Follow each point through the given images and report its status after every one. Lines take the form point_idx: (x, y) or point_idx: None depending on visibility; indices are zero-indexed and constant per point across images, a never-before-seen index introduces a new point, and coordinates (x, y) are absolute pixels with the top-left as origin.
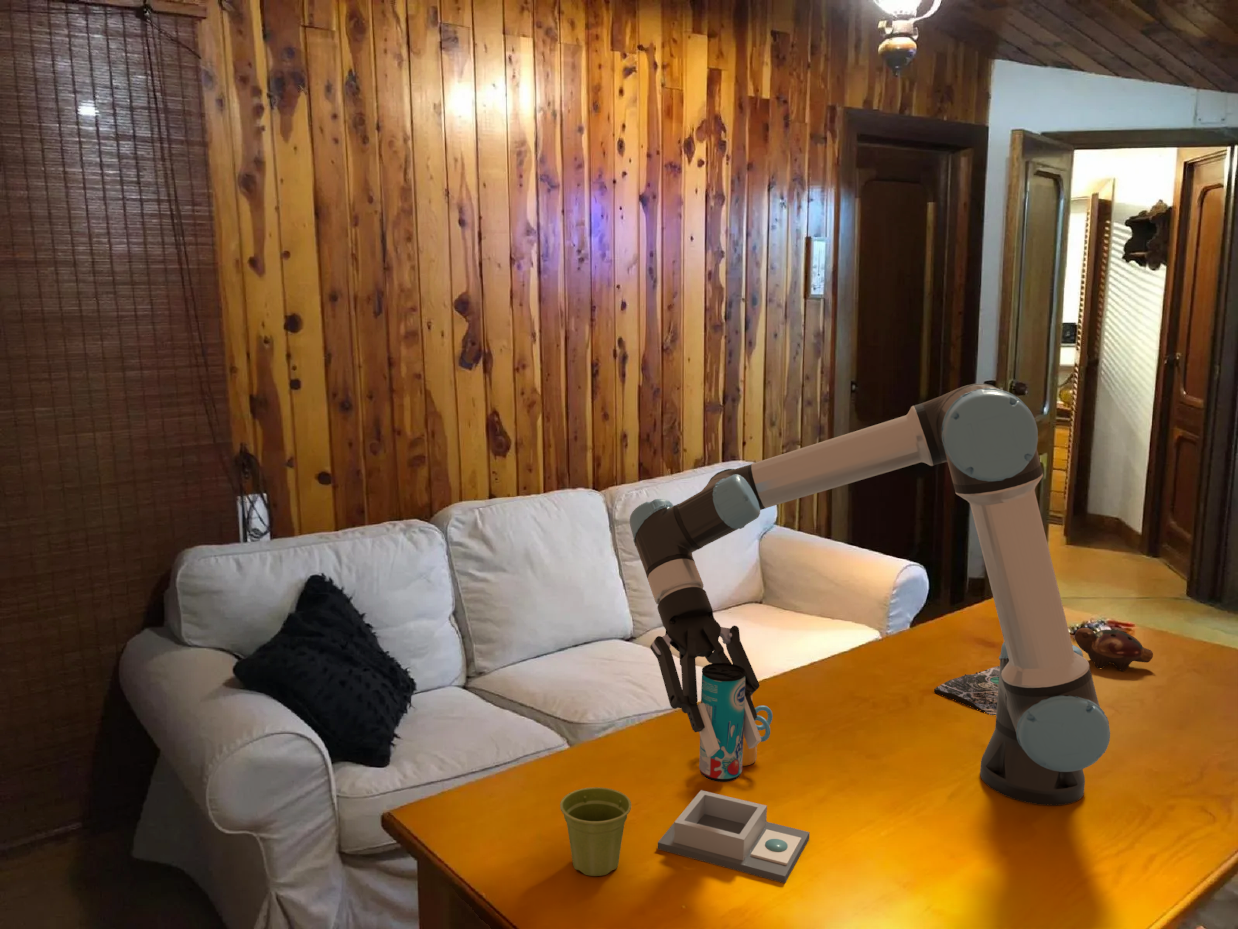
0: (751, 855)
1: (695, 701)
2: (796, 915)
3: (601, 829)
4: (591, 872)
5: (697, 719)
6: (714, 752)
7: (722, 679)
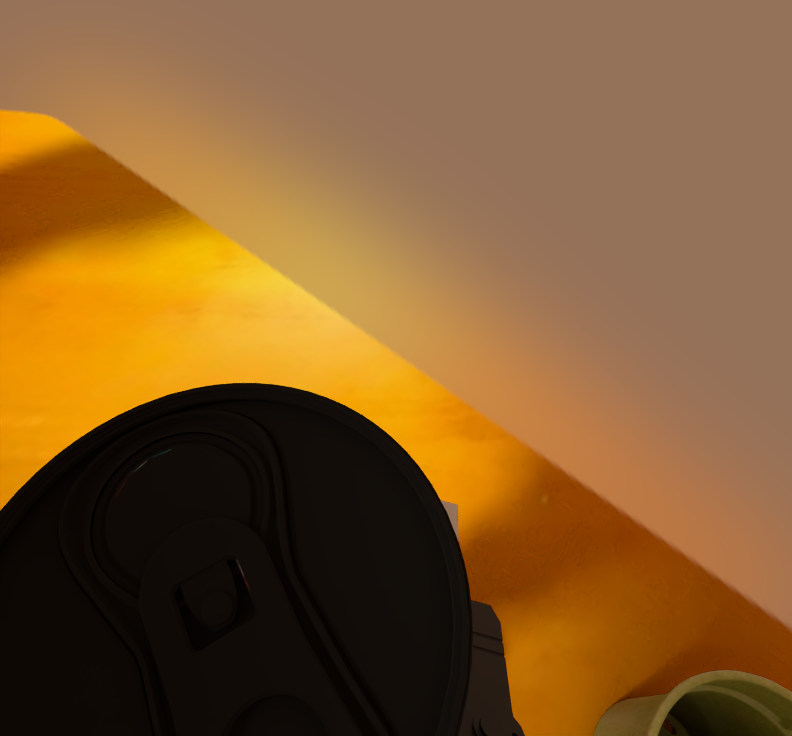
0: None
1: (479, 715)
2: (398, 366)
3: (754, 695)
4: (683, 720)
5: (483, 639)
6: None
7: (403, 450)
